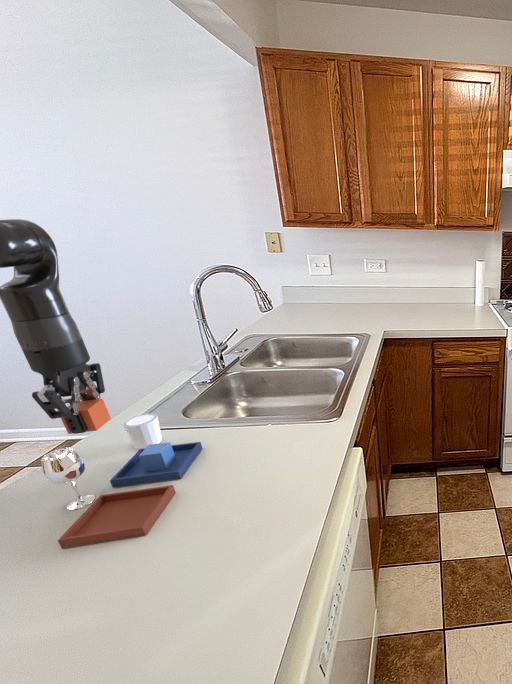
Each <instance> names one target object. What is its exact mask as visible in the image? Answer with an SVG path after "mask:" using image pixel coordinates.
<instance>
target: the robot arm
mask: <svg viewBox="0 0 512 684" xmlns="http://www.w3.org/2000/svg"><path fill="white" fill-rule="evenodd" d="M57 250H58V249H57V247H56V244H55V242H54V240H53V238H52V237H51V236H50V233H48V231H46V230H45V229H44V228H43V227H42V226H41V225H39V224H38V223H36V222H33V221H30V220H27V219H21V218H18V219H17V218H11V219H0V269H6V268H7V269H8V268H13V278H11V280H9V281H7V282H5V283H3V284H2V285H0V302H1V304H2V306H3V308H4V310H5V312H6V314H7V317H8V319H9V321H10V324H11V326H12V330H13V334H14V336H15V338H16V340H17V342H18V345H19V346H20V348H21V351H22V353H23V355H24V357H25V359H26V361H27V363H28V365H29V367H30V369H31V371H32V372H34V373H36V374H37V373H38V374H40V375H41V376H42V379H43V382H42V383H43V387H42V388H41V389H40V390H37V391H33V392H32V393H31V397H32V399H33V400H34V401H35V403H37V405H38V406H39V407H40V408H41V409H42V410H43V411H44V413H45V414H46V415H47V416H48V418H50V419H51V420H55V419H61V418H64V419H65V422H66V424H67V426H68V428H69V430H70V431H71V432H72V433H73V434H74V435H75V434H76V435H77V434H85V433H87V432H86V431H87V430H88V428H87V426H86V423H85V421H84V419H83V417H82V414H81V413H80V411H79V405H78V402H79V401H86V400H96V399H101V394H104V393H105V391H106V389H105V383H104V379H103V372H102V366H101V364H100V363H99V362H96V363H88V362H89V361H90V360H91V356H90V354H89V351H88V349H87V346H86V343H85V341H84V339H83V337H82V334H81V332H80V330H79V327H78V324H77V322H76V321H75V319H74V318H73V316H72V314H71V313H70V311H69V307H68V306H67V303H66V300H65V298H64V296H63V294H62V291H61V288H60V270H59V268H60V267H59V256H58V251H57ZM65 397H68V398H65ZM66 404H69V405H70V407H71V409H68V405H66ZM73 434H72V435H73Z"/></svg>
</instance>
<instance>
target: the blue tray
mask: <svg viewBox="0 0 512 684" xmlns="http://www.w3.org/2000/svg"><path fill="white" fill-rule="evenodd" d="M171 445H172V448H173V451H174V454H175V457H176V458H175V460H174V461H173V462H172V463H171V465H170V466H169V467H168V468H167V469H164V470H156V471H149V472H145V471H144V469H143V466H142V463H141V461H140V458H139V455H140V454H141V453H142V452H143V451H144V449H145V448H144V449H138V450H137V452H136V453H135V454H133V456H132V457H131V458H130V459H128V461H127V462H126V463H125V464H124V465H123V466H122V467H121V468H120V469H119V471H118V472H116V473H115V474H114V475H113V476H112V477H111V478H110V480H109V482H110V485H111V487H112V488H113V489H116V488H122V487H129V486H138V485H145V484H151V483H152V484H153V483H160V482H167V481H174V480H181V479H182V478H183V476H184V475H185V474H186V472H187V471H188V470H189V468H190V467H191V466H192V464H193V463H194V461H195V460H196V458H197V457H198V456H199V454H200V453H201V451H202V450H203V445H202V442H201V441H195V442H186V443H178V444H171Z"/></svg>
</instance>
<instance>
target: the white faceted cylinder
mask: <svg viewBox="0 0 512 684" xmlns="http://www.w3.org/2000/svg"><path fill="white" fill-rule="evenodd" d="M122 426H123V428H124V430H125V431H126V434H127V435H128V437H129V439H130V441H131V442H132V445H133V446H134V448H135V449H136V450H140V449H144V448H146V447H147V446H148V445H151V444H160V443H162V442H163V440H162V439H163V436H162V431H161V426H160V421H159V417H158V415H157V414H156V413H153V412H152V413H151V412H150V413H142V414H139V415H136V416H133V417H130V418H128V419H127V420H125V421H124V422H123V423H122ZM161 441H162V442H161Z"/></svg>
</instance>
